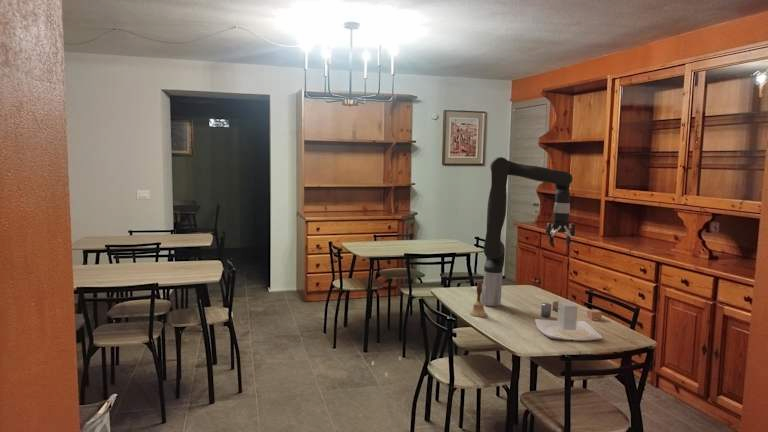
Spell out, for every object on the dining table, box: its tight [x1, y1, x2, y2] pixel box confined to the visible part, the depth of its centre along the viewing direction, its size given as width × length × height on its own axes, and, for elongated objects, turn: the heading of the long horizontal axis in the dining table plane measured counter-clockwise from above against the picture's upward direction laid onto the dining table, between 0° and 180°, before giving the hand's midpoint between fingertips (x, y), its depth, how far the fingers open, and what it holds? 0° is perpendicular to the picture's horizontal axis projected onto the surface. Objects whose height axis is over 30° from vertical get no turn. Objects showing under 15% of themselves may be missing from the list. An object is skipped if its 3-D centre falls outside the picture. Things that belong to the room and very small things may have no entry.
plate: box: [534, 318, 603, 342], centre depth 224 cm, size 24×24×3 cm
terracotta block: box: [586, 309, 603, 321], centre depth 245 cm, size 5×4×4 cm
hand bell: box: [469, 281, 488, 318], centre depth 246 cm, size 8×8×16 cm
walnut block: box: [552, 300, 560, 313], centre depth 256 cm, size 4×4×4 cm
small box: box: [556, 300, 578, 330], centre depth 224 cm, size 8×6×10 cm
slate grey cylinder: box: [540, 302, 552, 319], centre depth 247 cm, size 4×4×6 cm
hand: (559, 244), depth 257 cm, fingers open, 8 cm apart
